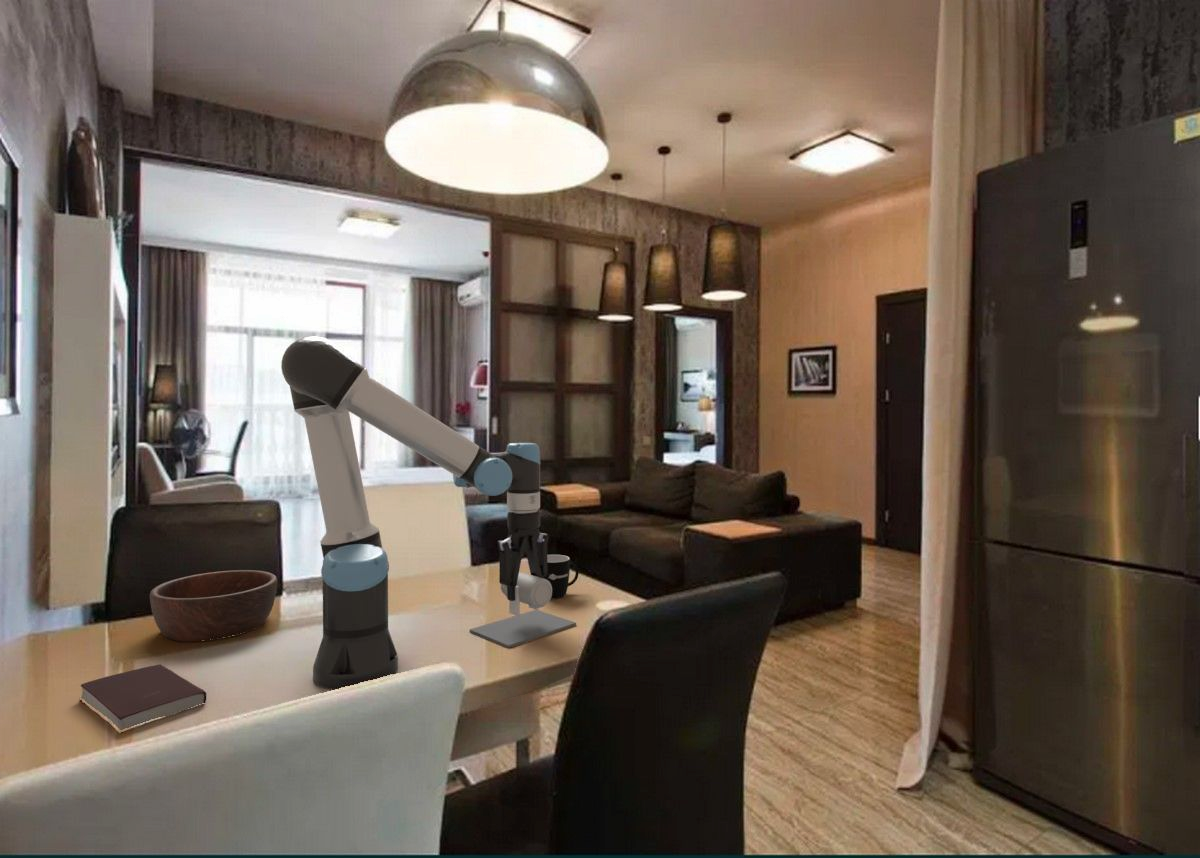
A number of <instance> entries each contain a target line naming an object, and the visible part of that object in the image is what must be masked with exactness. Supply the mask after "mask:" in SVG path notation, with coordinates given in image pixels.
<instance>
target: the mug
mask: <svg viewBox="0 0 1200 858" xmlns="http://www.w3.org/2000/svg"><path fill="white" fill-rule="evenodd" d="M571 566H572V567H573V568H574V570H575V575H574V577H573V579H572V580H571V581H569V580H570V569H571V568H570V567H571ZM547 567H548V574H547V576H543V577H544V579H546V580H548V581H549V582H550V583H551V586H552V596H551V598H555V599H560V598H559V597H561V598H564V597H565V596H564V595H566V594H567V591H568V589H569V588H568V587H570V586H572V585H574V584H575V583H576V581H577V580H578V578H579V573H580V572H579V568H578V566H577V565H576V564H575V563H573V562H571V558H570V557H569V556H567V555H562V554H547ZM563 596H564V597H563Z"/></svg>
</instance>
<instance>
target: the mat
mask: <svg viewBox="0 0 1200 858" xmlns="http://www.w3.org/2000/svg"><path fill="white" fill-rule="evenodd" d="M574 625H575V626H577V622H576V621H572V620H569V619H566V618H563V617H560V616H557V615H554V614H551V613H548V612H545V611H541V610H539V609H537V610H535V609H532V610H531V611H527V612H523V613H521V614H520V615H518V616H517V615H514V616H510V617H507V618H503V619H500V620H497V621H493V622H489V623H487V624H484V625H480V626H477V627H473V628H470V629H469V633H471V634H473V635H476V636H478V637H481V638H483V639H486V640H488V641H489V642H490V641H491V642H492V643H495V644H498V645H500V646H502V647H505V648H508V649H510V647H511V648H513V647H516V646H519V645H522V644H525V643H528V642H530V640H531V641H534V640H537V639H539V637H540V638H542V636H543V637H546V636H549V635H552V634H554V633H557V632H559V631H563V630H566V629H569V628H571V626H572V627H575V626H574ZM568 627H569V628H568ZM551 633H552V634H551ZM548 634H549V635H548ZM545 635H546V636H545ZM536 638H537V639H536ZM533 639H534V640H533ZM527 641H528V642H527ZM524 642H525V643H524Z"/></svg>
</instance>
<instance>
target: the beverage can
mask: <svg viewBox="0 0 1200 858" xmlns="http://www.w3.org/2000/svg"><path fill="white" fill-rule="evenodd" d="M516 586H519V588H518V596H519V599H520V603H523V604H526V605H528V606H529V605H531V606H534V607H538V608H539V609H540V608H543V607H545V606H547V604H548V603H549V602H550V601H551V596H552V586H551V583H550V582H549V581H548V580H546V579H543V578H540V577H536V576H533V575H531V574H529V573H525V572H521V571H519V575H518V580H517V585H516ZM500 589H501V592H502V593H503V595H504V596H505V597H506V598H507V586H506V585H503V584H500Z"/></svg>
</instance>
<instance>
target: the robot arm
mask: <svg viewBox="0 0 1200 858" xmlns="http://www.w3.org/2000/svg"><path fill="white" fill-rule="evenodd" d="M280 364H281V373H282V377H283V378H284V380H285V382H286V383H287V384H288V386H289V389H290V395H291V400H292V405H293V409H294V410H293V411H294V412H295V413H297V415H300V416H301V417H302V418H304V422H305V430H306V433H307V438H308V444H309V449H310V450H309V451H310V453H311V459H312V464H313V471H314V475H315V479H316V485H317V490H318V495H319V499H320V506H321V510H322V515H323V521H324V526H325V530H326V532H325V534H324V536H323V537H322V539H321V540H320V541H319V542H320V547H321V553H322V558H323V560H322V566H321V570H320V571H321V572H320V573H321V578H322V639H321V642H320V644H319V648H318V650H317V653H316V657H315V660H314V662H313V666H312V681H313V682H314V683H315V684H316V685H317V686H319V687H322V688H326V689H331V688H332V689H333V690H338V689H337V688H341V687H345V686H350V685H354V684H358V683H360V682H364V681H368V680H373V679H377V678H380V677H383V676H387V675H390V674H393V675H394V673H395V674H396V673H397V672H398V669H399V656H398V653H397V650H396V647H395V644H394V641H393V638H392V636H391V634H390V630H389V570H390V563H389V559H388V554H387V552H386V551H385V550H384V548H383V544H382V539H381V534H380V529H379V527H377V526H376V525H374V524H372V523H371V522H370V516H369V511H368V506H367V501H366V499H367V498H366V494H365V489H364V485H363V479H362V473H361V468H360V463H359V458H358V457H359V456H358V453H357V447H356V441H355V436H354V432H353V426H352V422H351V421H352V419H351V415H350V413H351V414H353V415H355V416H356V417H358V418H359V419H361V420H362V421H364V422H366V423H368V424H369V425H371V426H373V427H374V428H376V429H378V430H379V431H380V432H383V433H384V434H386V435H388V436H389V437H391V438H392V439H394V440H396V441H397V442H399V443H401V444H402V445H404V446H406V447H407V448H409V449H410V450H412V451H414V452H416V453H417V454H419V455H421V456H423V457H424V458H425V459H427V460H429V461H431V462H432V463H434V464H436V465H437V466H439V467H440V468H442V469H444V470H445V471H447V472H449V473H450V474H452V478H453V483H454V485H455V486H456V487H457V488H466V489H467V488H474V489H477V490H478V491H479V492H480V493H482V494H484V495H486V496H492V497H493V496H494V497H495V496H500V495H501V494H503V493H505V492H506V500H507V501H506V509H507V510H508V512H507V513H506V515H507V516H506V517H507V519H506V521H507V522H506V523H507V528H508V534H507V538H505V539H504V540H498V541H497V547H498V550H499V584H500V585H501V584H503V585H506V586H507V597H506V599H507V601H509V607H508V608H509V614H511V615H514V616H516V615H517V616H518V615H520V613H521V611H520V610H521V606H520V604H521V602H520V599H519V596H518V588H519V586H516V585H517V580H518V575H519V572H520V568H521V563H522V558H523V557H524V555H525V554H526V559H527V563H528V568H529V573H530V575H533V576H536V577H540V578H543V579H544V577H543V576H547V574H548V567H547V555H548V542H549V538H550V535H549V534H548V533H545V532H544V533H543V532H540V529H539V528H540V526H541V512H540V511H539V510H540V508H541V484H540V483H541V455H540V454H541V453H540V447H539V445H538V444H537V443H534V442H511V443H508V444H507V446H506V449H505V451H502V452H489V451H488V450H486V449H484V448H482V447H481V446H479V445H478V444H477V443H475V442H473V441H472V440H470V439H469V438H467V437H466V436H464V435H462V434H461V433H459V432H458V431H456V430H455V429H452V428H451V427H450V426H448V425H446V424H445V423H443V422H442V421H440V420H439V419H437V418H435V416H432V415H430V413H428V412H426V411H424V410H423V409H421V408H420V407H418V406H416V405H415V404H413V403H412V402H410V401H409V400H407V399H405V398H404V397H402V396H401V395H399V394H398V393H397V392H394V391H392V390H391V389H390V388H388V387H386V386H385V385H383V384H381V383H380V382H378V381H377V380H375V379H374V378H372V377H371V376H370V375H369V373H368V369H367V367H365V366H364V365H362V364H360V363H359V362H357V361H356V360H354V359H353V358H352V357H351V356H350V355H348V354H347V353H346V352H345V351H344V350H343V349H341V348H340V346H338V344H336V343H335V342H334V341H332V340H329V339H327V338H326V337H321V336H314V335H313V336H304V337H301V338H299V339H297V340H296V341H293V342H292V343H291V344H290V345H289V346H288V347H287V348H286V349H285V351H284V353H283V355H282V358H281V363H280ZM529 608H530V609H532V610H539V609H540V608H538V607H534V606H531V605H528V609H529Z"/></svg>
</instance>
